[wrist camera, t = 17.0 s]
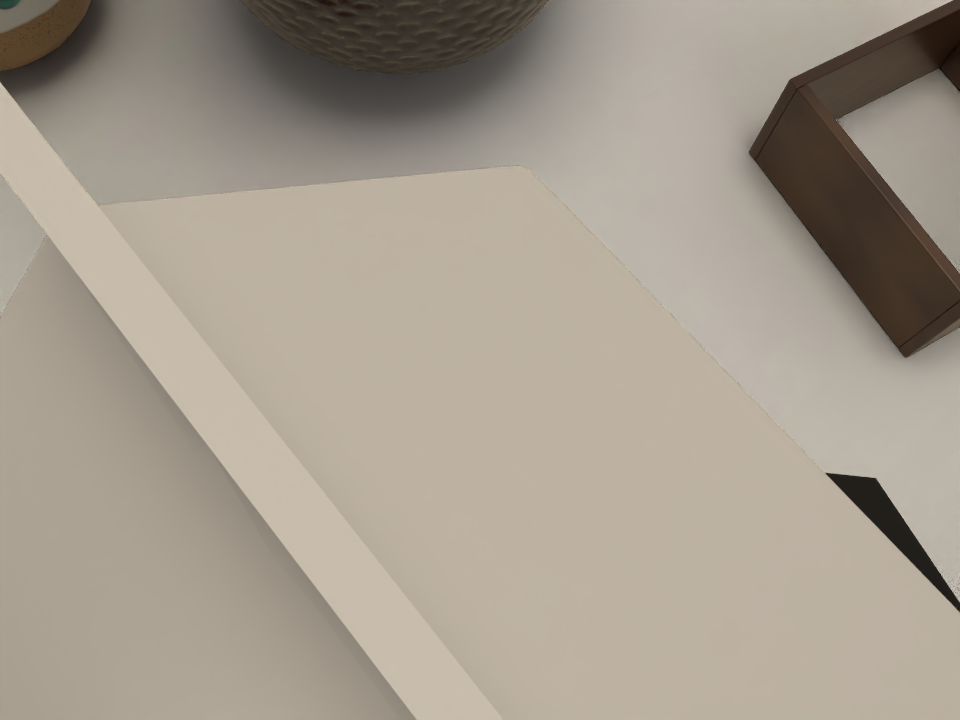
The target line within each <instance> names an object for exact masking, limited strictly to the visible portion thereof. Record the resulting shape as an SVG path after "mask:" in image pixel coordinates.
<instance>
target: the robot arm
mask: <svg viewBox="0 0 960 720" xmlns="http://www.w3.org/2000/svg"><path fill="white" fill-rule="evenodd" d="M825 474H826V475H827V476H828V477H829V478H830V479H831V480H832V481H833V482H834V483H835V484H836V485H837V486H838V487H839V488H840V489H841V490H842V491H843V492H844V493H845V494H846V495H847V496H848V497H849V499H850V500H851V501H852V502H853V503H854V504H855V505H856V506H857V507H858V508H859V509H860V510H861V511H862V512H863V513H864V514H865V515H866V516H867V517H868V518H869V519H870V520H871V521H872V522H873V523H874V524H875V525H876V526H877V527H878V528H879V530H880V531H881V532H882V533H883V534H884V535H885V536H886V537H887V538H888V539H889V540H890V541H891V542H892V543H893V544H894V545H895V546H896V547H897V548H898V549H899V550H900V551H901V552H902V553H903V554H904V555H905V556H906V557H907V558H908V559H909V560H910V562H911V563H912V564H913V565H914V566H915V567H916V568H917V569H918V570H919V571H920V572H921V573H922V574H923V575H924V576H925V577H926V578H927V579H928V580H929V581H930V582H931V583H932V584H933V585H934V586H935V587H936V588H937V589H938V590H939V591H940V593H941V594H942V595H943V596H944V597H945V598H946V599H947V600H948V601H949V602H950V603H951V604H952V605H953V606H954V607H955V608H956V609H957V610H958V611H959V612H960V602H959V601H958V599H957V598H956V596H955V595H954V593H953V592H952V591H951V589H950V588H949V586H948V585H947V583H946V582H945V580H944V579H943V577H942V576H941V574H940V573H939V571H938V570H937V568H936V567H935V565H934V564H933V562H932V561H931V559H930V558H929V556H928V555H927V553H926V552H925V551H924V549H923V548H922V546H921V545H920V543H919V542H918V540H917V539H916V537H915V536H914V534H913V533H912V531H911V530H910V528H909V527H908V525H907V524H906V522H905V521H904V519H903V518H902V516H901V515H900V513H899V512H898V511H897V509H896V508H895V506H894V505H893V503H892V502H891V500H890V499H889V497H888V496H887V494H886V493H885V491H884V490H883V488H882V487H881V485H880V484H879V482H878V481H877V479H876V478H869V477H860V476H850V475H840V474H831V473H825Z"/></svg>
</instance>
